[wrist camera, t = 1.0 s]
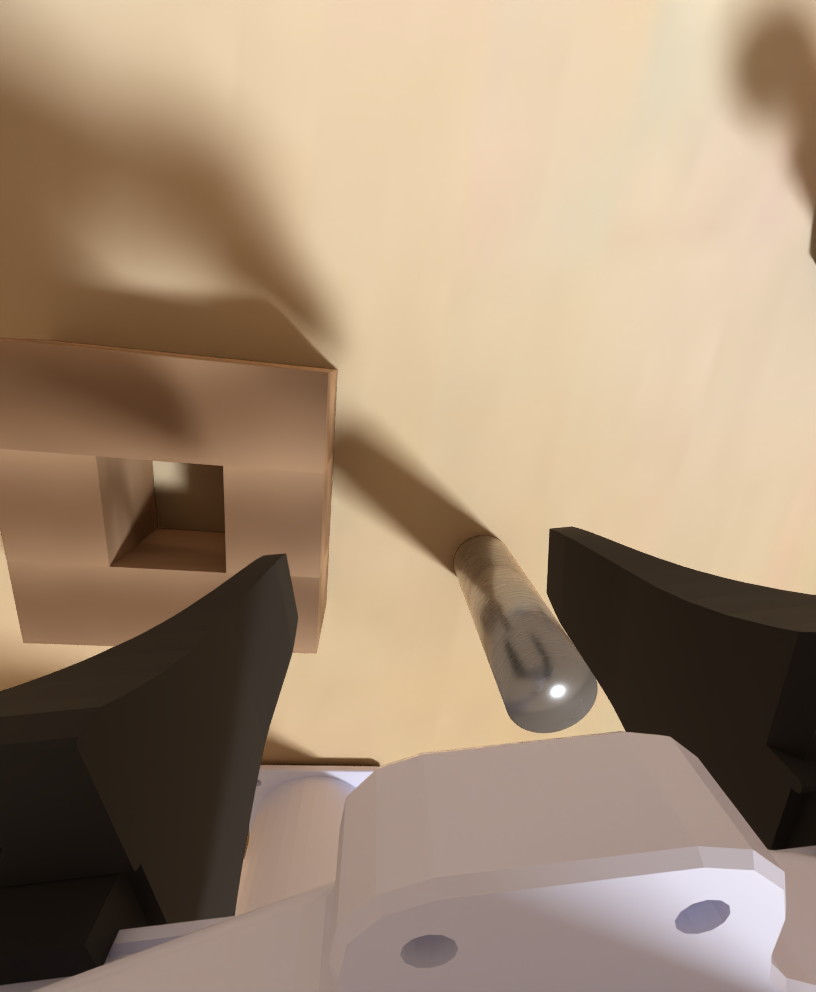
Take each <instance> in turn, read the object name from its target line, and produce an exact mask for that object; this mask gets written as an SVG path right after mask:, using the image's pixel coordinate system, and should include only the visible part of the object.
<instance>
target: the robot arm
mask: <svg viewBox="0 0 816 992" xmlns="http://www.w3.org/2000/svg"><path fill="white" fill-rule="evenodd" d="M547 595H548V597H549V600H550V602H551V604H552V606H553V609H554V611H555V613H556V615H557V617H558V619H559V621H560V623H561V625H562V627H563V628H564V630H565V631H566V633H567V635H568V636H569V638H570V639H571V641H572V642H573V644H574V646H575V647H576V649H577V650H578V652H579V653H580V655H581V656H582V658H583V659H584V661H585V663H586V664H587V666H588V667H589V669H590V670H591V672H592V673H593V675H594V676H595V678H596V679H597V681H598V683H599V684H600V686H601V687H602V689H603V690H604V692H605V694H606V695H607V697H608V699H609V700H610V702H611V704H612V705H613V707H614V709H615V711H616V713H617V715H618V717H619V719H620V721H621V723H622V725H623V727H624V729H625V731H626V732H623V731H618V732H609V733H600V734H591V735H582V736H573V737H564V738H555V739H546V740H537V741H528V742H518V743H509V744H500V745H491V746H482V747H473V748H464V749H455V750H446V751H437V752H428V753H421V754H418V755H415V756H411V757H408V758H405V759H402V760H399V761H395V762H392V763H389V764H386V765H383V766H381V767H378V766H310V765H261V760H262V755H263V750H264V745H265V741H266V738H267V734H268V730H269V726H270V723H271V720H272V717H273V714H274V710H275V707H276V704H277V701H278V698H279V695H280V691H281V688H282V685H283V682H284V679H285V675H286V672H287V669H288V666H289V662H290V659H291V656H292V652H293V648H294V643H295V637H296V630H297V624H298V613H297V607H296V602H295V597H294V592H293V586H292V581H291V576H290V571H289V565H288V560H287V555H286V553H284V554H273V555H263V556H261V557H260V558H258V559H256V560H255V561H253V562H252V563H250V564H249V565H247V566H246V567H245V568H243V569H242V570H240V571H239V572H238V573H236V574H235V575H234V576H232V577H231V578H229V579H228V580H227V581H225V582H224V583H222V584H221V585H220V586H218V587H217V588H216V589H214V590H213V591H211V592H210V593H208V594H207V595H205V596H204V597H202V598H201V599H199V600H198V601H196V602H195V603H193V604H192V605H190V606H189V607H187V608H186V609H184V610H182V611H181V612H179V613H178V614H176V615H174V616H173V617H171V618H169V619H167V620H166V621H164V622H162V623H160V624H159V625H157V626H155V627H153V628H151V629H149V630H148V631H146V632H144V633H142V634H140V635H138V636H136V637H134V638H132V639H130V640H128V641H126V642H123V643H121V644H119V645H117V646H115V647H113V648H110V649H108V650H106V651H104V652H102V653H100V654H98V655H95V656H93V657H91V658H89V659H86V660H84V661H81V662H79V663H77V664H74V665H72V666H69V667H67V668H64V669H62V670H59V671H56V672H54V673H51V674H48V675H46V676H43V677H40V678H38V679H35V680H32V681H30V682H27V683H24V684H21V685H18V686H15V687H12V688H9V689H6V690H3V691H0V992H816V595H810V594H803V593H797V592H791V591H785V590H779V589H774V588H769V587H764V586H759V585H754V584H749V583H744V582H740V581H735V580H731V579H727V578H723V577H719V576H715V575H712V574H708V573H704V572H701V571H697V570H693V569H690V568H687V567H683V566H680V565H677V564H674V563H671V562H668V561H665V560H662V559H659V558H656V557H653V556H651V555H648V554H645V553H643V552H640V551H637V550H635V549H632V548H629V547H627V546H624V545H622V544H619V543H617V542H614V541H612V540H609V539H607V538H604V537H601V536H599V535H596V534H594V533H591V532H588V531H585V530H582V529H579V528H575V527H563V528H552V529H550V532H549V553H548V575H547ZM248 829H249V843H248V847H247V851H246V854H245V858H244V853H245V847H246V841H247V834H248ZM243 859H244V862H243ZM242 865H243V866H242Z"/></svg>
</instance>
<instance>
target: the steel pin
mask: <svg viewBox="0 0 816 992" xmlns="http://www.w3.org/2000/svg"><path fill="white" fill-rule="evenodd" d="M454 570H455V572H456V575H457V578H458V580H459V583H460V586H461V589H462V591H463V594H464V597H465V599H466V602H467V605H468V607H469V610H470V613H471V615H472V618H473V621H474V624H475V626H476V629H477V632H478V634H479V637H480V640H481V642H482V645H483V648H484V651H485V653H486V656H487V659H488V661H489V664H490V667H491V669H492V672H493V675H494V678H495V680H496V683H497V686H498V688H499V691H500V694H501V696H502V699H503V702H504V704H505V707H506V710H507V712H508V715H509V716H510V718H511V719H512V721H513V722H514V723H515V724H517V725H518V726H520V727H521V728H523V729H525V730H528V731H531V732H536V733H551V732H556V731H560V730H563V729H566V728H568V727H570V726H572V725H574V724H576V723H577V722H578V721H580V720H581V719H582V718H583V717H584V716H585V715H586V714H587V713H588V712H589V711H590V709H591V708H592V706H593V704H594V702H595V699H596V696H597V681H596V678H595V676H594V675H593V673H592V672H591V670H590V669H589V667H588V666H587V664H586V663H585V661H584V659H583V658H582V656H581V655H580V653H579V652H578V650H577V649H576V648H575V646H574V645H573V643H572V642H571V640H570V639H569V637H568V636H567V634H566V633H565V632H564V630H563V629H562V627H561V626H560V624H559V623H558V621H557V620H556V618H555V617H554V616H553V614H552V613H551V611H550V610H549V608H548V607H547V605H546V604H545V602H544V601H543V600H542V598H541V597H540V595H539V594H538V592H537V591H536V589H535V588H534V586H533V585H532V584H531V582H530V581H529V579H528V578H527V576H526V575H525V573H524V572H523V570H522V569H521V568H520V566H519V565H518V563H517V562H516V560H515V559H514V557H513V556H512V554H511V553H510V552H509V550H508V549H507V547H506V546H505V544H504V543H503V542H502V541H500V540H499V539H497V538H495V537H492V536H487V535H481V536H476V537H473V538H470V539H468V540H467V541H465V542H464V543H463V544H462V545H461V546H460V547H459V549H458V550H457V552H456V554H455V557H454Z"/></svg>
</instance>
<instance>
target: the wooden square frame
mask: <svg viewBox="0 0 816 992" xmlns="http://www.w3.org/2000/svg"><path fill="white" fill-rule="evenodd" d="M336 391H337V369H327V368H317V367H307V366H298V365H288V364H278V363H268V362H258V361H248V360H238V359H228V358H218V357H208V356H198V355H188V354H178V353H168V352H159V351H149V350H139V349H129V348H119V347H109V346H99V345H89V344H79V343H69V342H59V341H49V340H29V339H8V338H0V529H1V534H2V539H3V544H4V549H5V554H6V559H7V564H8V569H9V574H10V579H11V584H12V589H13V594H14V599H15V604H16V609H17V614H18V619H19V624H20V629H21V634H22V639H23V643H41V644H69V645H96V646H117V645H119V644H121V643H123V642H126V641H128V640H130V639H132V638H134V637H136V636H138V635H140V634H142V633H144V632H146V631H148V630H149V629H151V628H153V627H155V626H157V625H159V624H160V623H162V622H164V621H166V620H167V619H169V618H171V617H173V616H174V615H176V614H178V613H179V612H181V611H182V610H184V609H186V608H187V607H189V606H190V605H192V604H193V603H195V602H196V601H198V600H199V599H201V598H202V597H204V596H205V595H207V594H208V593H210V592H211V591H213V590H214V589H216V588H217V587H218V586H220V585H221V584H222V583H224V582H225V581H227V580H228V579H229V578H231V577H232V576H234V575H235V574H236V573H238V572H239V571H240V570H242V569H243V568H245V567H246V566H247V565H249V564H250V563H252V562H253V561H255V560H256V559H258V558H260V557H261V556H263V555H273V554H284V553H286V555H287V560H288V565H289V571H290V576H291V581H292V586H293V592H294V597H295V602H296V607H297V613H298V624H297V630H296V637H295V643H294V648H293V652H292V653H317V648H318V643H319V638H320V633H321V628H322V623H323V618H324V613H325V608H326V598H327V577H328V557H329V536H330V515H331V494H332V474H333V453H334V432H335V411H336ZM152 460H153V461H166V462H179V463H192V464H205V465H218V466H223V479H224V511H225V533H223V532H207V531H191V530H174V529H158V527H157V514H156V502H155V490H154V478H153V466H152Z"/></svg>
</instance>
